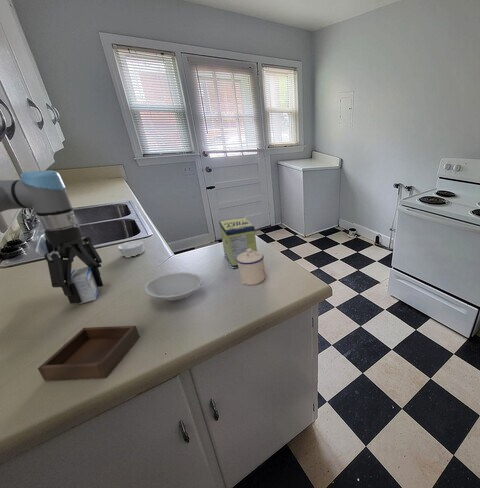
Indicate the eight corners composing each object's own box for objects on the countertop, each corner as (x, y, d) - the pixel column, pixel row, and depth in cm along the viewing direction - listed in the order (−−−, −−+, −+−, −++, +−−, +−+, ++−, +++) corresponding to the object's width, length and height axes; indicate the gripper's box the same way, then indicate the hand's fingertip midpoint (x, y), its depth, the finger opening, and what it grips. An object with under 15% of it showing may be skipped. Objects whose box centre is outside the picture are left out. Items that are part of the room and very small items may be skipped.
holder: (44, 381, 57) (37, 368, 56) (88, 338, 69) (83, 327, 67) (106, 377, 58) (100, 365, 56) (139, 336, 69) (136, 325, 68)
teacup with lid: (270, 279, 96) (268, 249, 92) (248, 288, 90) (244, 257, 86) (252, 268, 104) (249, 240, 99) (230, 276, 98) (226, 247, 93)
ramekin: (126, 260, 110) (123, 250, 109) (116, 255, 115) (113, 245, 113) (149, 252, 117) (146, 243, 115) (139, 248, 122) (136, 239, 120)
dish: (135, 306, 81) (130, 292, 79) (171, 282, 94) (167, 269, 92) (184, 315, 77) (180, 300, 75) (215, 289, 90) (212, 276, 88)
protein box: (248, 249, 120) (244, 216, 114) (259, 263, 108) (255, 226, 102) (223, 254, 115) (218, 220, 109) (232, 269, 103) (226, 231, 97)
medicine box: (96, 300, 84) (87, 275, 81) (78, 304, 82) (67, 280, 78) (98, 288, 90) (90, 265, 87) (81, 293, 88) (71, 269, 84)
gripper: (40, 240, 67) (73, 314, 76) (101, 215, 87) (121, 276, 96) (8, 241, 67) (44, 315, 75) (77, 216, 87) (99, 277, 95)
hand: (87, 294), depth 86 cm, fingers closed on medicine box, 9 cm apart
